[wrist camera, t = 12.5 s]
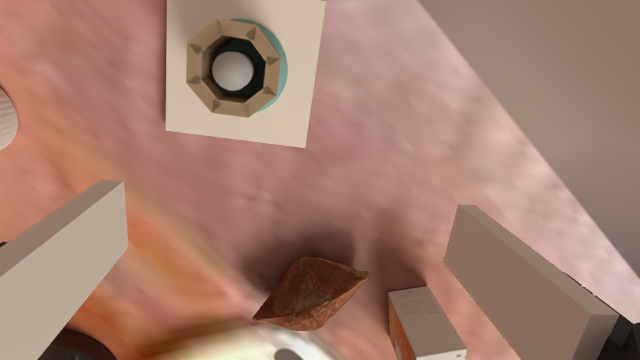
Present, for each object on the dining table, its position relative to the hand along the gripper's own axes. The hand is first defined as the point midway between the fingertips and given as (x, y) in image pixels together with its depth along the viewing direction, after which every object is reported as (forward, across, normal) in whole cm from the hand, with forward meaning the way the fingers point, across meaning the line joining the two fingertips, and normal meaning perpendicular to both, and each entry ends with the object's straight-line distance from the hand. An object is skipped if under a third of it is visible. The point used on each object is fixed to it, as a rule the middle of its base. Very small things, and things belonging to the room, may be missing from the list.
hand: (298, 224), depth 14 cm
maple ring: (+23, -5, +5) cm, 24 cm away
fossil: (+25, +4, -20) cm, 32 cm away
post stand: (+24, -5, +5) cm, 25 cm away
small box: (+24, +18, -24) cm, 39 cm away
